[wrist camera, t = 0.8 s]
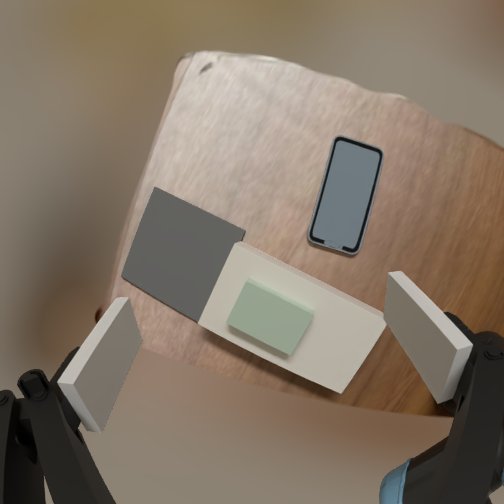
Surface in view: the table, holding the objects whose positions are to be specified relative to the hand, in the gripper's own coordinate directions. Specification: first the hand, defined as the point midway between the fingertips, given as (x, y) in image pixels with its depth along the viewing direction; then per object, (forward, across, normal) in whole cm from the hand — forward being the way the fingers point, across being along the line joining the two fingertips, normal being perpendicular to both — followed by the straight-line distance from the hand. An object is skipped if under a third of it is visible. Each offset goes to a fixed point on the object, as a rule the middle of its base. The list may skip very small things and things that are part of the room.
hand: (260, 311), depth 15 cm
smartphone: (+27, -13, 0) cm, 30 cm away
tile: (+21, -1, +13) cm, 24 cm away
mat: (+29, +11, +7) cm, 32 cm away
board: (+24, -4, +15) cm, 29 cm away
